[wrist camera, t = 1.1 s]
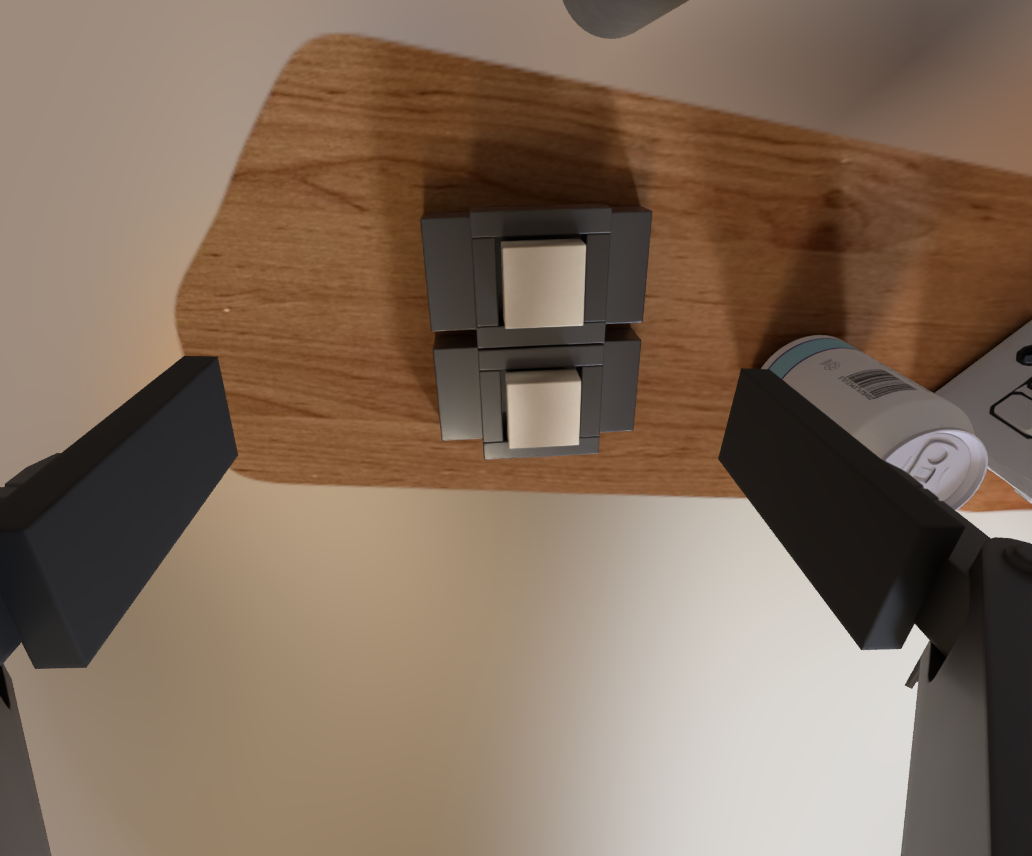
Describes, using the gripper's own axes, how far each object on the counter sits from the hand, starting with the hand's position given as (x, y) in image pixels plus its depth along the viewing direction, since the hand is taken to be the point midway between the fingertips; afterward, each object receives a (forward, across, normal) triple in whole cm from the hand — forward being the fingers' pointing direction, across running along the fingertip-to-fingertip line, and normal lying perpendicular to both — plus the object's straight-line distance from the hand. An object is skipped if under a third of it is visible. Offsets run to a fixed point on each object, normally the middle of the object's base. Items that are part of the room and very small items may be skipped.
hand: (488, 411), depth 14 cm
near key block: (+20, +3, 0) cm, 20 cm away
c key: (+16, +3, 0) cm, 16 cm away
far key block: (+20, +4, -7) cm, 21 cm away
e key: (+16, +4, -7) cm, 18 cm away
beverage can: (+20, +21, -7) cm, 30 cm away
